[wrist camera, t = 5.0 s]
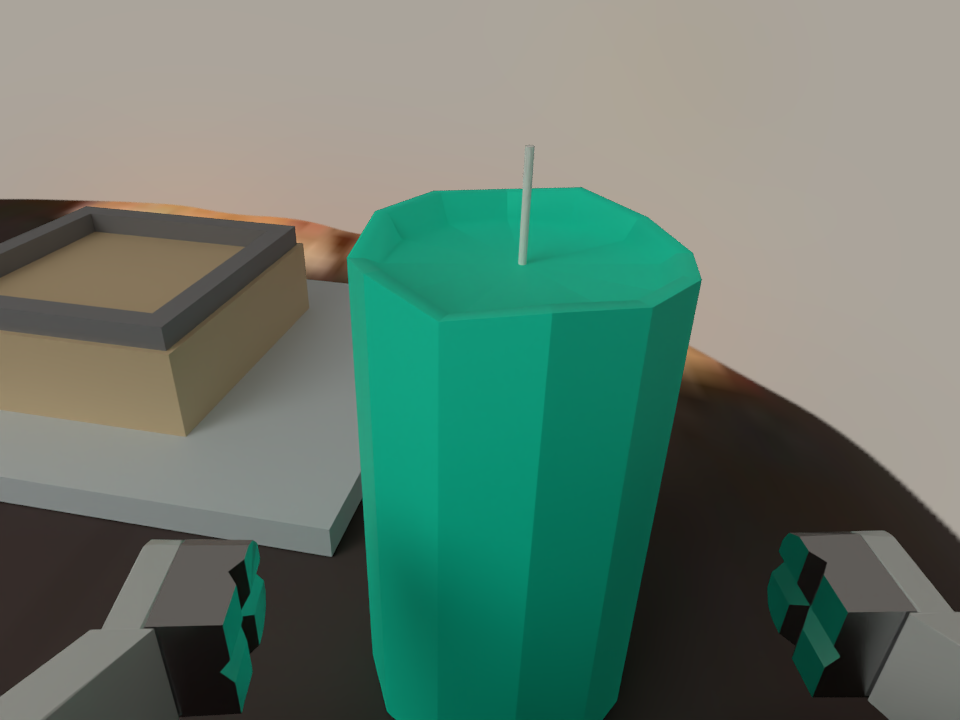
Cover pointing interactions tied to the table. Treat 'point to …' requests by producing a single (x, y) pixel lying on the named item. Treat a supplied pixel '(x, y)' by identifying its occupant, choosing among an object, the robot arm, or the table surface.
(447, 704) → the candle
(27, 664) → the table surface
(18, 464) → the board
